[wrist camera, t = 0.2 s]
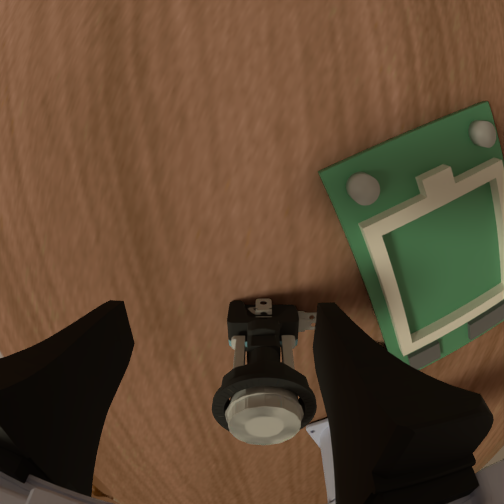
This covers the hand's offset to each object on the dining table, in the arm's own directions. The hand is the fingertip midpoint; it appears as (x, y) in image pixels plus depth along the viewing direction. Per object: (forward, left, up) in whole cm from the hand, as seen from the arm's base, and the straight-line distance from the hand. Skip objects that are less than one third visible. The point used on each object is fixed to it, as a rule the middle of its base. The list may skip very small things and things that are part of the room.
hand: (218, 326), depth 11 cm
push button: (-7, +1, -10) cm, 12 cm away
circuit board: (-9, -13, -10) cm, 19 cm away
